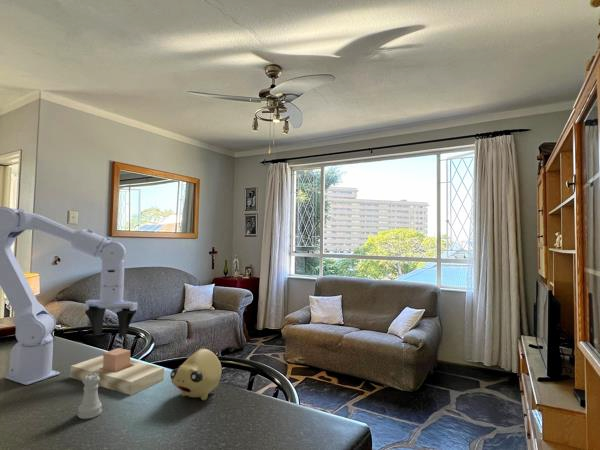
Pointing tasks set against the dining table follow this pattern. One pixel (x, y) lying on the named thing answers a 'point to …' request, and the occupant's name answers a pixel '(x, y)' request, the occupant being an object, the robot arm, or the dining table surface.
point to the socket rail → (120, 375)
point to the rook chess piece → (90, 398)
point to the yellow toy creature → (198, 374)
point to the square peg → (116, 360)
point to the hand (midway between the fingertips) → (110, 335)
